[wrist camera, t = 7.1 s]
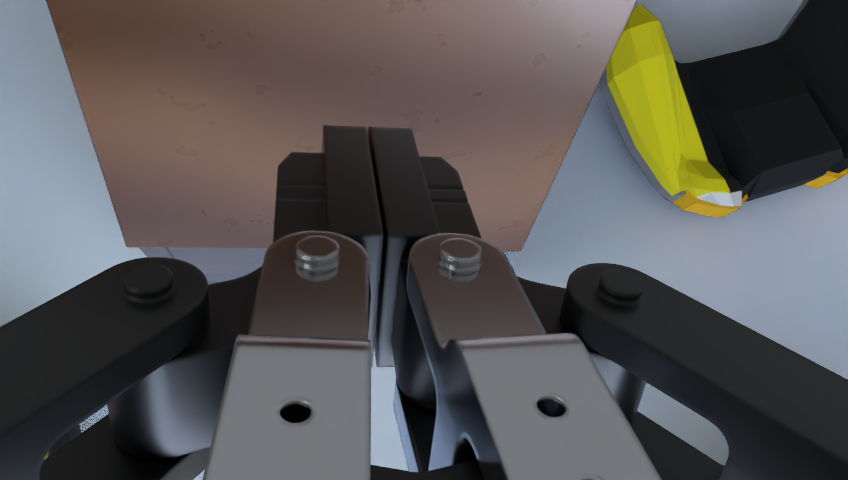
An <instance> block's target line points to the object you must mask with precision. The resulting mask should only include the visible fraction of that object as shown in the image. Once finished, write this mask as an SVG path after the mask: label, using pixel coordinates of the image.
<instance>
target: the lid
mask: <svg viewBox="0 0 848 480" xmlns="http://www.w3.org/2000/svg"><path fill="white" fill-rule="evenodd" d="M46 2H47V5H48V8H49V11H50V14H51V17H52V20H53V23H54V26H55V29H56V33H57V36H58V39H59V42H60V45H61V48H62V51H63V54H64V57H65V60H66V63H67V66H68V69H69V72H70V75H71V78H72V81H73V85H74V88H75V91H76V94H77V97H78V100H79V103H80V106H81V109H82V112H83V115H84V118H85V121H86V124H87V127H88V130H89V133H90V137H91V140H92V143H93V146H94V149H95V152H96V155H97V158H98V161H99V164H100V167H101V170H102V173H103V176H104V179H105V182H106V186H107V189H108V192H109V195H110V198H111V201H112V204H113V207H114V210H115V213H116V216H117V219H118V222H119V225H120V228H121V231H122V234H123V238H124V241H125V244H126V247H162V248H254V249H268V247H269V246H270V245H271V244H272V243H273V236H274V220H275V204H276V188H277V172H278V165H279V164H280V163H281V162H282V161H283V160H284V159H285V158H286V157H287V156H288V155H289V154H290V153H291V152H307V153H322V135H323V125H340V126H366V129H367V133H368V128H369V127H395V128H411V129H412V132H413V135H414V139H415V142H416V146H417V150H418V153H419V156H432V157H442V158H443V159H444V160H445V161H446V162H448V163H449V164H450V165H451V166H452V167H453V168H455V169H456V170H457V171H458V173H459V176H460V179H461V182H462V185H463V190H465V193H466V196H467V198H468V203H469V204H470V207H471V210H472V212H473V215H474V218H475V221H476V224H477V226H478V229H479V232H480V235H481V237H482V239H484V240H486V241H488V242H490V243H492V244H494V245H495V246H496V247H498V248H499V249H500V250H501V251H521V250H522V247H523V245H524V243H525V241H526V239H527V237H528V235H529V232H530V230H531V228H532V226H533V224H534V222H535V219H536V217H537V215H538V213H539V211H540V209H541V207H542V204H543V202H544V200H545V198H546V196H547V194H548V191H549V189H550V187H551V185H552V183H553V181H554V179H555V176H556V174H557V172H558V170H559V168H560V166H561V163H562V161H563V159H564V157H565V155H566V153H567V151H568V148H569V146H570V144H571V142H572V140H573V138H574V135H575V133H576V131H577V129H578V127H579V125H580V123H581V120H582V118H583V116H584V114H585V112H586V110H587V107H588V105H589V103H590V101H591V99H592V97H593V95H594V92H595V90H596V88H597V86H598V84H599V82H600V79H601V77H602V75H603V73H604V71H605V69H606V67H607V64H608V62H609V60H610V58H611V56H612V54H613V52H614V49H615V47H616V45H617V43H618V41H619V39H620V36H621V34H622V32H623V30H624V28H625V26H626V24H627V21H628V19H629V17H630V15H631V13H632V11H633V8H634V6H635V4H636V2H637V0H46Z"/></svg>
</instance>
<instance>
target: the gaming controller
mask: <svg viewBox="0 0 848 480" xmlns="http://www.w3.org/2000/svg"><path fill="white" fill-rule="evenodd" d="M600 84H601V92H602V94H603V96H604V99H605V101H606V103H607V105H608V107H609V110H610V112H611V114H612V116H613V118H614V121H615V123H616V125H617V127H618V129H619V131H620V134H621V136H622V138H623V140H624V142H625V145H626V147H627V149H628V151H629V153H630V154H631V156H632V157H633V158H634V160H635V161H636V163H637V164H638V165H639V167H640V168H641V170H642V171H643V172H644V174H645V175H646V177H647V178H648V179H649V181H650V182H651V184H652V185H653V186H654V188H655V189H656V190H657V191H658V192H659V193H660V194H661V195H662V196H663V197H664V198H665V199H666V200H669V201H670V202H672V203H673V204H674V205H677V206H678V207H679V208H680V209H682V210H684V211H689V212H693V213H697V214H701V215H705V216H709V217H723V216H725V215H727V214H730V213H732V212H734V211H736V210H738V209H739V208H740V207H741V206H742V205H743V203H744V202H746V201H750V200H753V199H757V198H760V197H763V196H767V195H770V194H773V193H777V192H780V191H783V190H787V189H790V188H793V187H797V186H800V185H807V186H810V187H813V188H819V187H822V186H824V185H826V184H828V183H831V182H833V181H835V180H837V179H839V178H841V177H843V176H844V175H846V174H847V173H848V0H804V1H803V2H802V4H801V5H800V7H799V9H798V10H797V12H796V13H795V14H794V16H793V17H792V19H791V20H790V22H789V23H788V24H787V26H786V27H785V29H784V30H783V32H782V33H781V35H780V36H779V37H778V39H777V40H775V41H773V42H770V43H767V44H765V45H761V46H757V47H753V48H749V49H745V50H741V51H737V52H733V53H729V54H725V55H721V56H717V57H713V58H709V59H705V60H701V61H697V62H692V63H678V62H677V61H675V60H674V58H673V55H672V52H671V49H670V47H669V44H668V41H667V39H666V36H665V33H664V31H663V28H662V25H661V23H660V20H658V19H657V18H656V17H655V16H654V15H653V14H652V13H651V12H649V11H648V10H647V9H646V8H645V7H644V6H642V5H639V6H637V7H635V8H634V9H633V11H632V13H631V15H630V17H629V19H628V21H627V24H626V26H625V28H624V30H623V32H622V34H621V36H620V39H619V41H618V43H617V45H616V47H615V49H614V52H613V54H612V56H611V58H610V60H609V62H608V64H607V67H606V69H605V71H604V73H603V75H602V77H601V79H600Z"/></svg>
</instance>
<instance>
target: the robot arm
mask: <svg viewBox="0 0 848 480" xmlns="http://www.w3.org/2000/svg"><path fill="white" fill-rule="evenodd" d="M374 348H375V356H376V365H377V367H395V372H396V384H395V394H394V403H393V405H394V411H395V416H396V420H397V424H398V428H399V432H400V437H401V441H402V445H403V449H404V453H405V457H406V462H407V466H408V470H409V471H403V470H398V469H392V468H386V467H380V466H374V465H370V445H371V367H372V364H373V352H374ZM646 382H647V383H649V384H650V385H652V386H654V387H655V388H657V389H658V390H660V391H662V392H663V393H665V394H667V395H668V396H670V397H672V398H673V399H675V400H676V401H678V402H680V403H681V404H683V405H685V406H686V407H688V408H690V409H691V410H693V411H694V412H696V413H698V414H699V415H701V416H703V417H704V418H706V419H707V420H709V421H710V422H712V423H713V424H714V425H716V426H717V427H718V428H719V430H720V431H721V432H722V433H723V435H724V436H725V438H726V440H727V443H728V446H729V457H728V460H727V462H726V465H725V466H723V465H721V464H719V463H717V462H716V461H714V460H713V459H711V458H710V457H708V456H707V455H705V454H703V453H702V452H700V451H699V450H697V449H696V448H694V447H693V446H691V445H689V444H688V443H686V442H685V441H683V440H682V439H680V438H678V437H677V436H675V435H674V434H672V433H671V432H669V431H668V430H666V429H664V428H663V427H661V426H660V425H658V424H657V423H655V422H653V421H652V420H650V419H649V418H647V417H646V416H644V415H643V414H641V413H639V412H638V411H637V409H638V406H639V403H640V400H641V397H642V394H643V391H644V388H645V385H646ZM107 404H108V410H109V414H108V415H106V416H105V417H104V418H102V419H101V420H99V421H98V422H97V423H95V424H94V425H92V426H91V427H90V428H88V429H87V430H85V431H84V432H83V433H81V434H80V435H78V436H77V437H76V438H74V439H73V440H71V441H70V442H69V443H67V444H66V445H64V446H63V447H62V448H60V449H59V450H57V451H56V452H55V453H53V454H52V455H50V456H49V457H48V458H46V459H45V460H44V458H45V456H46V454H47V452H48V451H49V449H50V448H51V447H52V446H53V444H54V443H55V442H56V441H57V440H58V439H59V438H60V437H61V436H63V435H64V434H65V433H67V432H68V431H70V430H71V429H72V428H74V427H75V426H77V425H78V424H80V423H81V422H82V421H84V420H85V419H87V418H88V417H90V416H91V415H92V414H94V413H95V412H97V411H98V410H100V409H101V408H102V407H104V406H105V405H107ZM204 469H205V472H204V476H203V480H848V380H847V379H845V378H843V377H841V376H840V375H838V374H836V373H834V372H832V371H830V370H828V369H826V368H824V367H822V366H820V365H819V364H817V363H815V362H813V361H811V360H809V359H807V358H805V357H803V356H801V355H799V354H797V353H796V352H794V351H792V350H790V349H788V348H786V347H784V346H782V345H780V344H778V343H776V342H775V341H773V340H771V339H769V338H767V337H765V336H763V335H761V334H759V333H757V332H755V331H753V330H752V329H750V328H748V327H746V326H744V325H742V324H740V323H738V322H736V321H734V320H732V319H731V318H729V317H727V316H725V315H723V314H721V313H719V312H717V311H715V310H713V309H711V308H710V307H708V306H706V305H704V304H702V303H700V302H698V301H696V300H694V299H692V298H690V297H688V296H687V295H685V294H683V293H681V292H679V291H677V290H675V289H673V288H671V287H669V286H667V285H666V284H664V283H662V282H660V281H658V280H656V279H654V278H652V277H650V276H648V275H646V274H644V273H642V272H640V271H638V270H635V269H632V268H629V267H626V266H622V265H616V264H608V263H595V264H588V265H585V266H582V267H580V268H577V269H576V270H575V271H573V272H572V273H571V275H570V276H569V279H568V282H567V287H566V289H565V288H560V287H555V286H551V285H546V284H541V283H536V282H532V281H528V280H525V279H523V278H520V277H517V276H516V274H515V272H514V270H513V268H512V267H511V265H510V263H509V261H508V259H507V257H506V256H505V254H504V253H503V252H502V251H501V250H500V249H499V248H498V247H496V246H495V245H494V244H492V243H490V242H488V241H486V240H484V239H482V237H481V235H480V232H479V229H478V226H477V224H476V221H475V218H474V215H473V212H472V210H471V207H470V204H469V203H468V198H467V196H466V193H465V190H463V185H462V182H461V179H460V176H459V173H458V171H457V170H456V169H455V168H453V167H452V166H451V165H450V164H449V163H448V162H446V161H445V160H444V159H443V158H442V157H432V156H419V153H418V150H417V146H416V142H415V139H414V135H413V132H412V129H411V128H395V127H369V128H368V133H367V129H366V126H340V125H323V135H322V153H307V152H291V153H290V154H289V155H288V156H287V157H286V158H285V159H284V160H283V161H282V162H281V163H280V164H279V165H278V172H277V188H276V204H275V220H274V236H273V243H272V244H271V245H270V246H269V247H268V249H267V250H266V253H265V256H264V261H263V265H262V266H261V267H260V268H258V269H256V270H255V271H253V272H251V273H249V274H247V275H245V276H242V277H239V278H236V279H232V280H228V281H224V282H218V283H213V284H208V282H207V279H206V276H205V275H204V274H203V272H202V271H201V270H200V269H198V268H197V267H196V266H194V265H192V264H190V263H188V262H185V261H182V260H178V259H174V258H166V257H147V258H139V259H134V260H130V261H126V262H123V263H120V264H117V265H115V266H113V267H111V268H109V269H107V270H105V271H103V272H101V273H100V274H98V275H96V276H94V277H92V278H90V279H88V280H87V281H85V282H83V283H81V284H79V285H77V286H75V287H74V288H72V289H70V290H68V291H66V292H64V293H62V294H61V295H59V296H57V297H55V298H53V299H51V300H49V301H48V302H46V303H44V304H42V305H40V306H38V307H36V308H35V309H33V310H31V311H29V312H27V313H25V314H24V315H22V316H20V317H18V318H16V319H14V320H12V321H11V322H9V323H7V324H5V325H3V326H1V327H0V480H193V479H194V478H195V477H196V476H198V475H199V474H200V473H201V472H202V471H203V470H204Z"/></svg>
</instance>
